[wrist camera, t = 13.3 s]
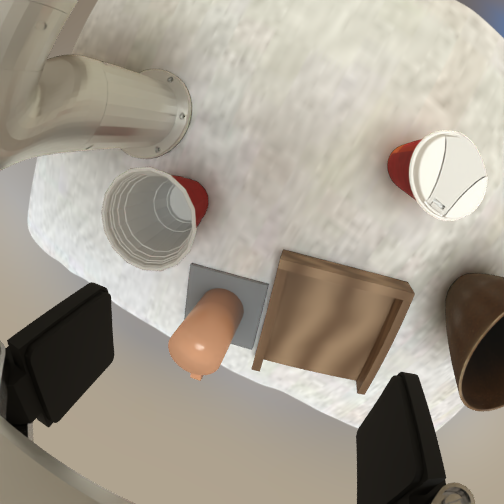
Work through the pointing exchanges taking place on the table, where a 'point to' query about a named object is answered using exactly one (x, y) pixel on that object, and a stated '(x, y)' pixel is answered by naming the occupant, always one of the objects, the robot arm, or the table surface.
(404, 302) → the brown tray
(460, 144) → the paper cup
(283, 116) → the table surface
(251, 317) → the coaster
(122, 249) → the plastic cup
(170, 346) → the tan tapered cylinder
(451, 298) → the plant pot
